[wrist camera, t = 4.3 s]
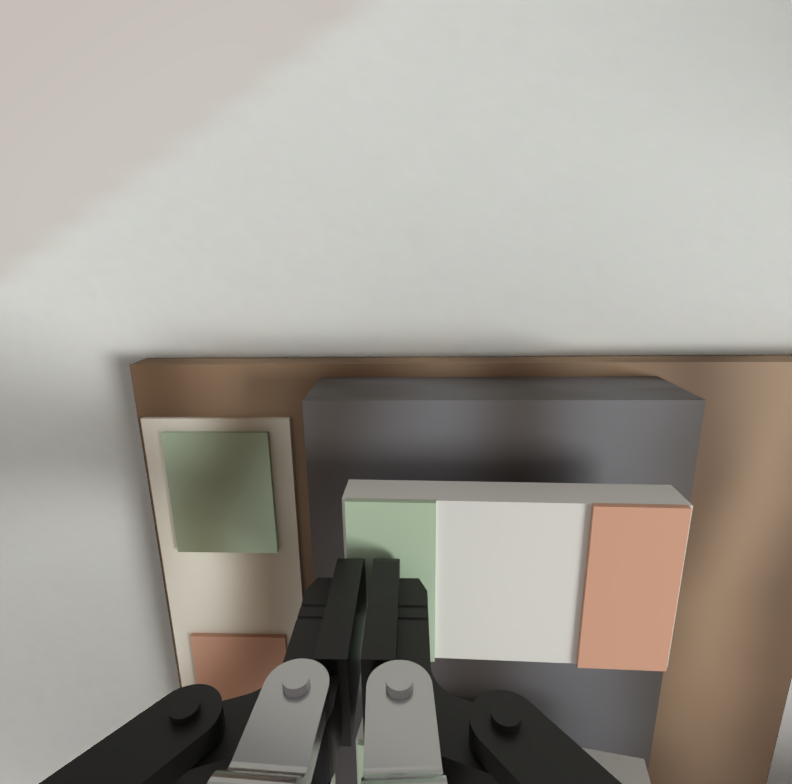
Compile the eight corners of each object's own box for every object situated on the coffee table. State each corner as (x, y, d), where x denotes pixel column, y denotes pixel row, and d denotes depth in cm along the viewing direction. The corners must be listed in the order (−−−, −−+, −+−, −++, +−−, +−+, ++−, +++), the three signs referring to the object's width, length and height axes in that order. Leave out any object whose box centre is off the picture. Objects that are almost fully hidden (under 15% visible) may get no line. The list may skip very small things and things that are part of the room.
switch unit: (839, 354, 18) (998, 392, 13) (718, 889, 26) (792, 1043, 21) (146, 358, 19) (52, 394, 14) (222, 870, 27) (177, 1012, 22)
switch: (670, 484, 14) (696, 508, 12) (649, 636, 15) (669, 671, 14) (348, 479, 14) (340, 501, 13) (354, 624, 16) (347, 658, 14)
